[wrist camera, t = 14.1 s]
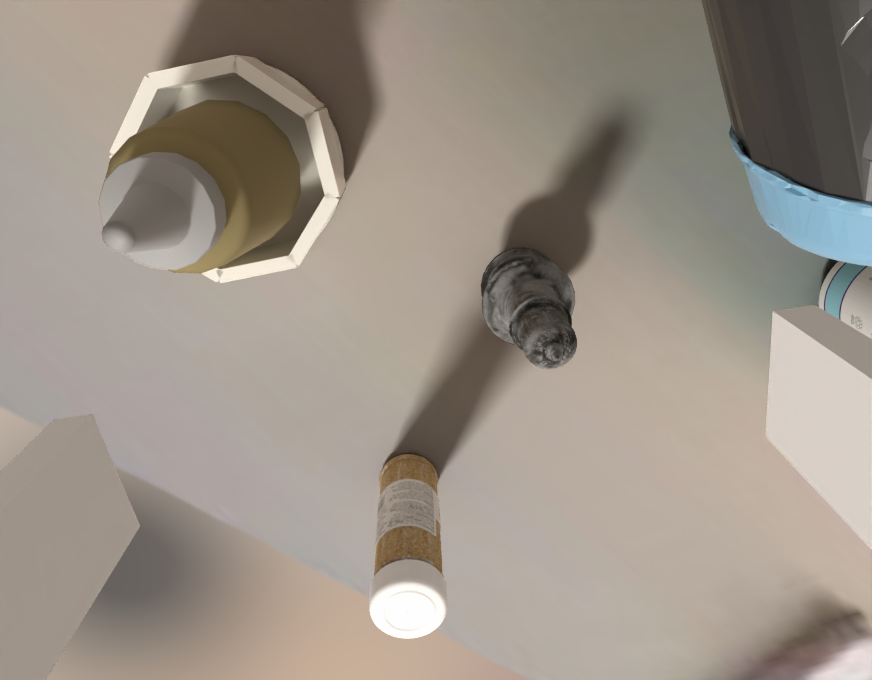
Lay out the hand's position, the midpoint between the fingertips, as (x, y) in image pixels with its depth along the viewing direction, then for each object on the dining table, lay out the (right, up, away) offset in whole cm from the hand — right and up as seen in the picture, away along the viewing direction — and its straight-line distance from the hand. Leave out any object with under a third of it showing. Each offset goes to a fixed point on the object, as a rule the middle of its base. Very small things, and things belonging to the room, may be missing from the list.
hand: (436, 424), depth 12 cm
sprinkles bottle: (-2, -9, +37) cm, 38 cm away
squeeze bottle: (-12, +12, +26) cm, 31 cm away
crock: (-12, +12, +27) cm, 32 cm away
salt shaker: (+6, +5, +31) cm, 32 cm away
